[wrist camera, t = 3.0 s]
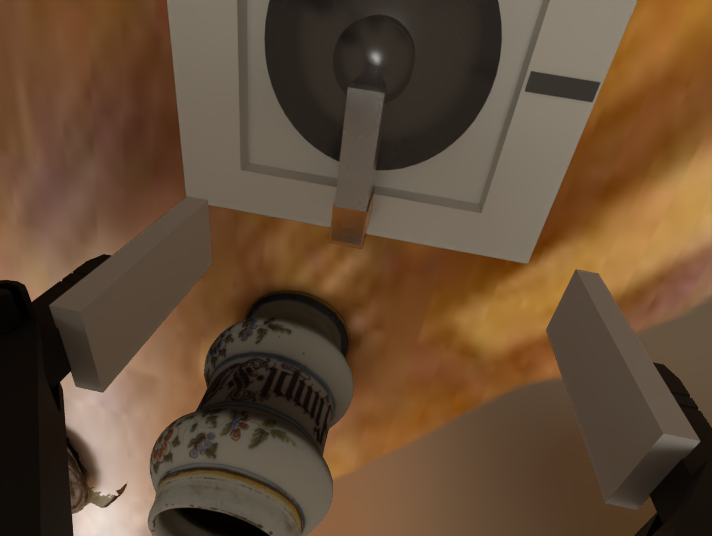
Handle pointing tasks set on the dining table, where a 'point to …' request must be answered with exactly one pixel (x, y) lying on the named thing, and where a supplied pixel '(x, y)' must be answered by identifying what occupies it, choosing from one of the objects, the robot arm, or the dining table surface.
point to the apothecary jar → (258, 427)
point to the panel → (414, 183)
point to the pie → (84, 485)
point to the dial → (380, 84)
